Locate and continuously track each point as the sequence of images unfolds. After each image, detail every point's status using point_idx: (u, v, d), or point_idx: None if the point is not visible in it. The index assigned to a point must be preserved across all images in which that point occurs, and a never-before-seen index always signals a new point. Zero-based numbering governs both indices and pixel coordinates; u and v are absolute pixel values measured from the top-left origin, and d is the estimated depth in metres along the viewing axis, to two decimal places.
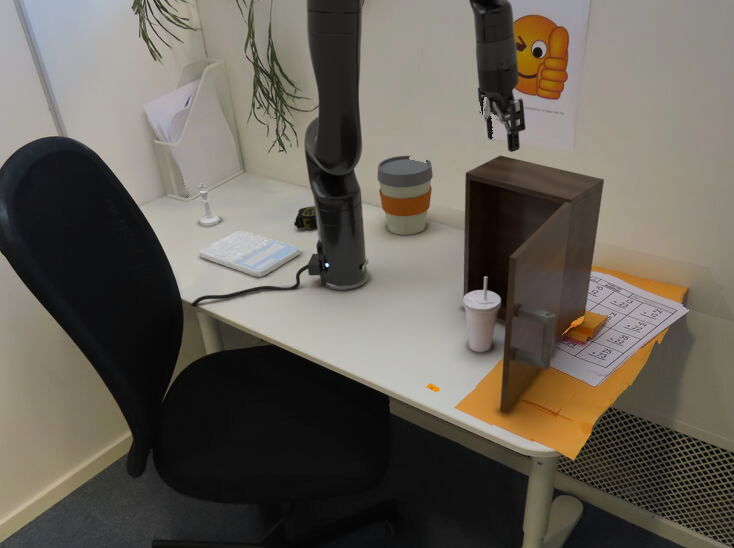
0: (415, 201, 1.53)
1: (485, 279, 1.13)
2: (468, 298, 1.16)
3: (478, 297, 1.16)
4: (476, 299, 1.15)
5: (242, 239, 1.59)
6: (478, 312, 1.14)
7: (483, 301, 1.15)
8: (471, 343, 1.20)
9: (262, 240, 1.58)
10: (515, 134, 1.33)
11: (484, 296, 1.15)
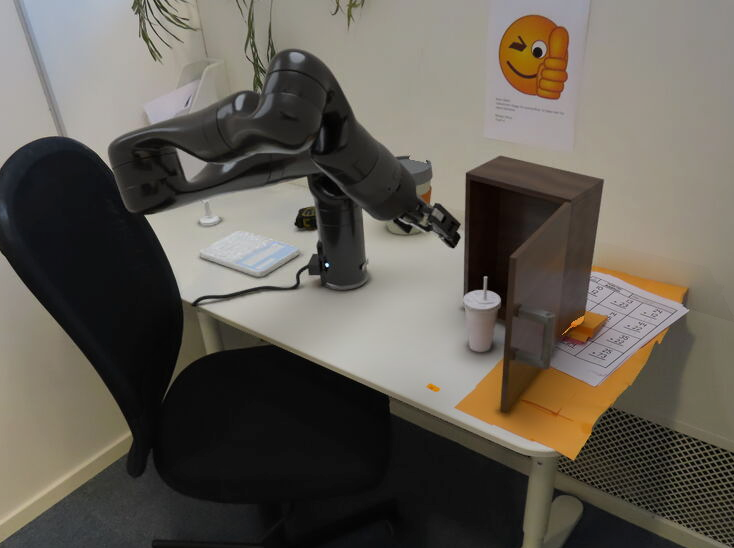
0: None
1: (485, 279, 1.13)
2: (468, 298, 1.16)
3: (478, 297, 1.16)
4: (476, 299, 1.15)
5: (242, 239, 1.59)
6: (478, 312, 1.14)
7: (483, 301, 1.15)
8: (471, 343, 1.20)
9: (262, 240, 1.58)
10: None
11: (484, 296, 1.15)
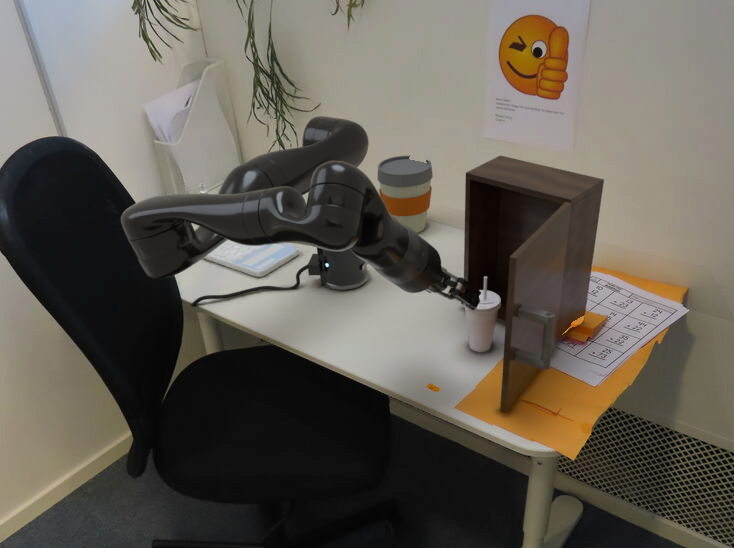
0: (415, 201, 1.53)
1: (485, 279, 1.13)
2: None
3: None
4: None
5: None
6: (478, 312, 1.14)
7: (483, 301, 1.15)
8: (471, 343, 1.20)
9: None
10: None
11: (484, 296, 1.15)
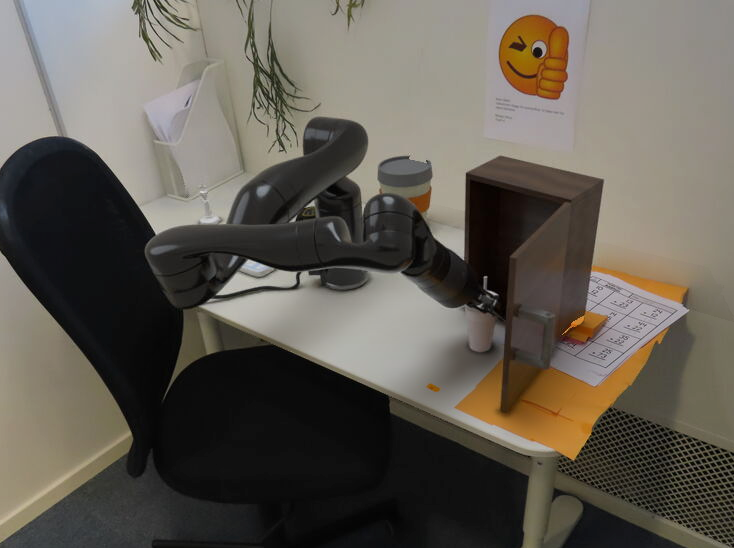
0: (415, 201, 1.53)
1: (485, 279, 1.13)
2: None
3: None
4: None
5: None
6: (478, 312, 1.14)
7: None
8: (471, 343, 1.20)
9: None
10: None
11: None
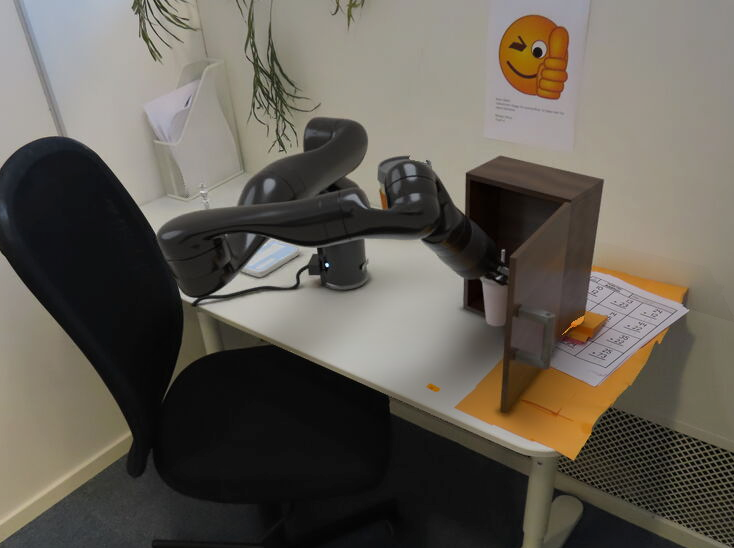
0: None
1: (503, 252, 1.14)
2: None
3: None
4: None
5: None
6: (496, 285, 1.15)
7: None
8: (488, 317, 1.21)
9: None
10: None
11: None
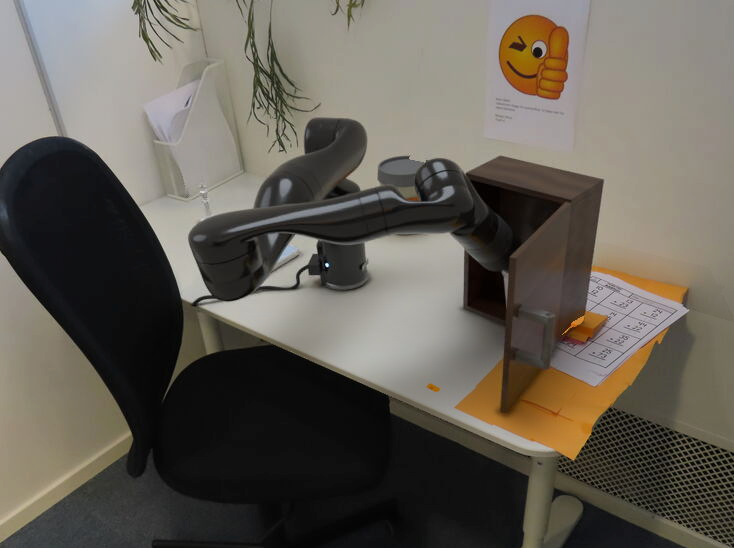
0: None
1: None
2: None
3: None
4: None
5: None
6: None
7: None
8: None
9: None
10: None
11: None
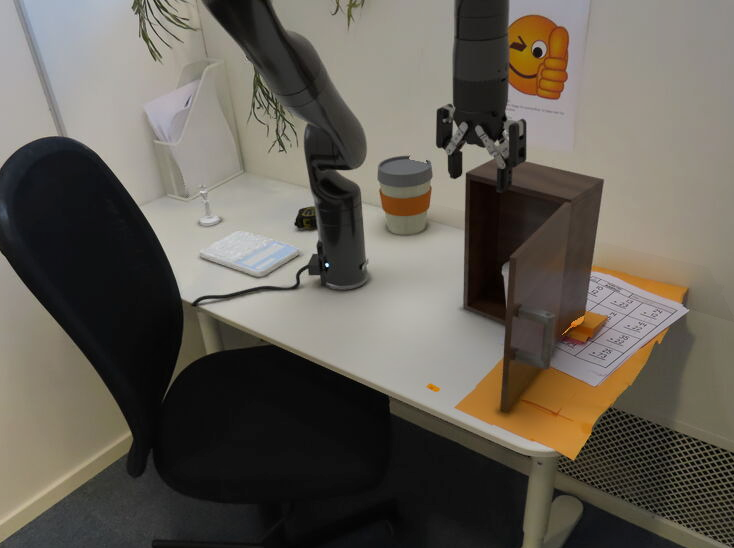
0: (415, 201, 1.53)
1: None
2: (507, 267, 1.22)
3: None
4: None
5: (242, 239, 1.59)
6: None
7: None
8: None
9: (262, 240, 1.58)
10: (509, 168, 0.97)
11: None
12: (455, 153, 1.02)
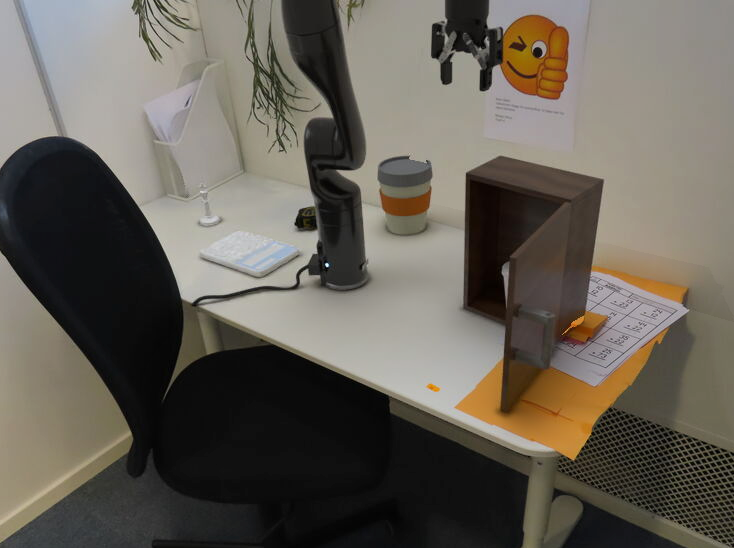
0: (415, 201, 1.53)
1: None
2: (507, 267, 1.22)
3: None
4: None
5: (242, 239, 1.59)
6: None
7: None
8: None
9: (262, 240, 1.58)
10: (490, 70, 1.20)
11: None
12: (446, 62, 1.25)
